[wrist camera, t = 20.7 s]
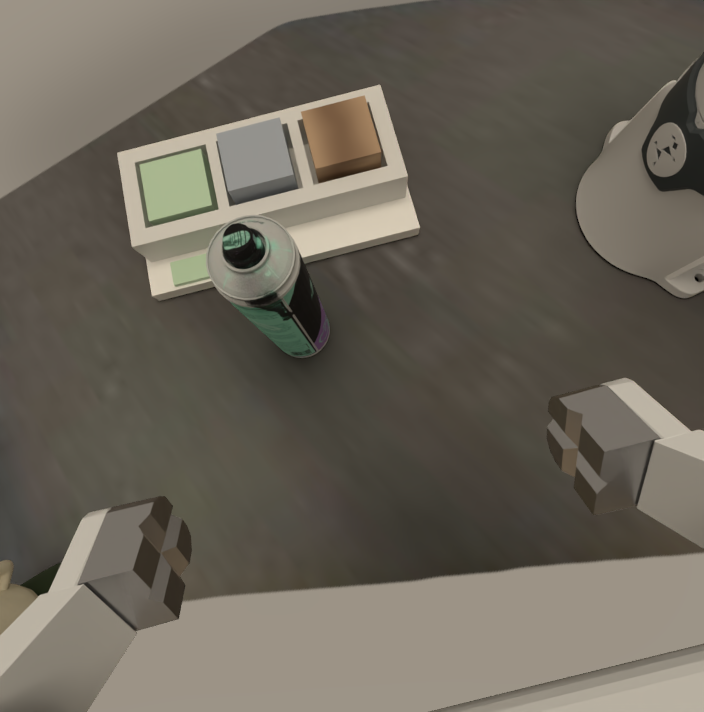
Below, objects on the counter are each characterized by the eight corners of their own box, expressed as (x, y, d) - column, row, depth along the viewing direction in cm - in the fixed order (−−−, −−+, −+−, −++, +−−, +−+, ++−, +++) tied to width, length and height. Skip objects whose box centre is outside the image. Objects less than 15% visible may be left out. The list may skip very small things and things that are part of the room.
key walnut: (365, 122, 43) (364, 95, 39) (380, 175, 42) (381, 151, 38) (306, 138, 43) (300, 111, 39) (320, 190, 42) (315, 168, 38)
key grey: (287, 142, 43) (279, 117, 39) (300, 196, 42) (293, 174, 38) (228, 158, 43) (216, 133, 39) (240, 211, 42) (228, 191, 38)
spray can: (341, 332, 42) (309, 239, 22) (298, 369, 41) (227, 308, 22) (305, 293, 43) (245, 170, 23) (263, 328, 42) (165, 234, 23)
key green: (214, 171, 44) (200, 148, 41) (225, 223, 43) (211, 204, 40) (157, 185, 44) (139, 164, 41) (167, 238, 43) (148, 221, 40)
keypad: (383, 117, 46) (383, 78, 41) (418, 234, 43) (423, 208, 38) (139, 180, 46) (111, 149, 41) (159, 300, 44) (132, 283, 39)
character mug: (48, 528, 40) (-106, 570, 27) (120, 539, 40) (-2, 589, 27) (16, 656, 38) (-165, 767, 25) (92, 671, 38) (-54, 791, 25)
